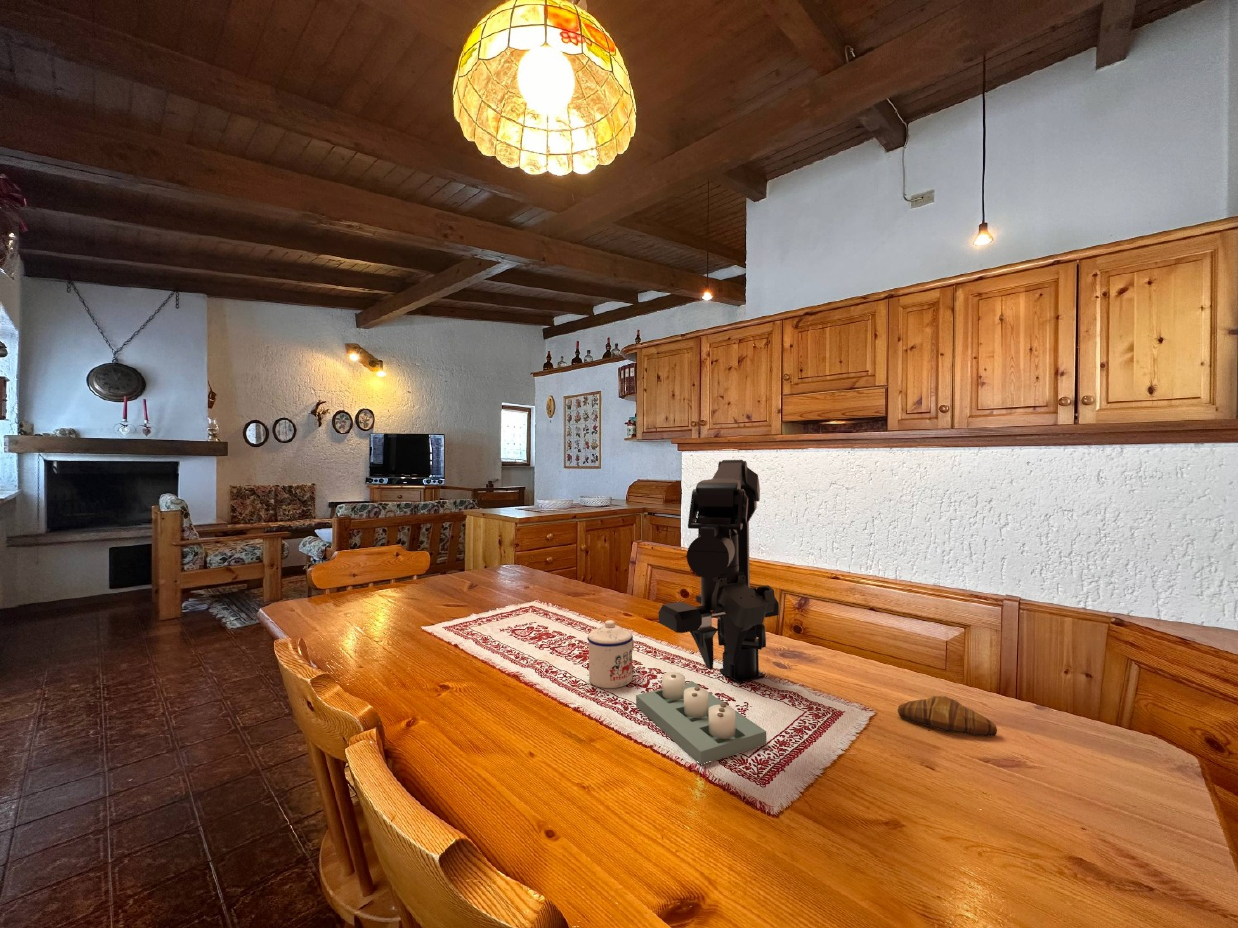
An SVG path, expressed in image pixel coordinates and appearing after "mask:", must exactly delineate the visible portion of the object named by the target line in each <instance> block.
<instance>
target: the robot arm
mask: <svg viewBox="0 0 1238 928" xmlns="http://www.w3.org/2000/svg"><path fill="white" fill-rule="evenodd" d="M717 464H718V465H717V470H716V472H715V473H714V474H713V476H712V478H710V479H703V480H700V481H699V482H698V483H696V486H695V488H693V489H692V491H691V496H690V497H691V498H690V506H689V512H688V513H689V514H688V515H689V516H688V522H687V528H688V529H691V530H692V529H694V530H695V529H696V530H697V532H698V534H697V537H696V538H695V539H694V540H693V541H691V543H690V544H689V545H688V548H687V551H686V561H687V564H688V566H689V568H690V570H691V571H692V572H693V573H694V574H695V576H697V577H700V594H697V595H695V601H696V603H698V604H700V606H693V605H691V604H689V603H686V602H684V601H677V602H671V603H665V604H662V605H661V606H660V608H659V611H658V624H661V626H664V627H666V628H667V629H670V630H671V631H673V632H674V633H677V634H684V633H690V635H691V636H692V639H693V640H694V643H695V645H696V646H697V649H698V651H699V654H700V657H701V658H702V659H703V660H702V661H703V662H704V665H705V666H706V667H705V668H707V669H708V670H709V671H712V670H713V669H714V660H715V659H714V636H715V635H716V633H717V639H718V640H717V641H718V643H717V644H718V646H719V647H722V646H723V652H722V668H719V672H720V673H721V674H722V675H725V676H727V677H728V678H730V679H731V680H733V681H734V682H735V683H739V684H742V683H744V682H749V681H755V680H757V679H760V678H765V673H763V672H761V671H760V670H759V669H760V668H759V667H760V665H759V663H760V662H759V661H760V659H759V650H760V651H762V649H763V648H767V637H766V626H765V625H764V620H765V618H771V617H776V616H779V615H780V603H779V601H778V600H777V598H776V597H775V589H774V588H772V587H771V586H770V585H761V586H758V587H755V586H752V587H751V580H750V579H751V578H750V573H751V571H750V521H751V519H752V517H753V516H754V514H755V513H756V510H757V508H758V507H757V503H758V502H760V501H761V500H760V499H761V489H760V488H761V486H760V485H761V484H760V479H759V474H757V473H756V472H755V471H753V470H752V469H750V468H749V467H748V464H747V460H743V459H723V460H721V461H718V463H717ZM713 618H717V619H716V620H717V621H716V624H717V625H716V626H717V627H715V626H713V623H712V619H713Z"/></svg>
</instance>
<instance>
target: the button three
mask: <svg viewBox="0 0 1238 928" xmlns="http://www.w3.org/2000/svg"><path fill="white" fill-rule="evenodd" d="M724 703H725V702H724ZM724 703H722V704H720V705H713V706H711V707H710V708H709V733H710V734H711V735H712V736H714V737H717V738H721V739H728V738H731V737H733V736H735V734H736V726H735V708H734V707H733V706H729V705H728V704H727V703H725V704H724ZM726 704H727V705H728V706H727V705H726Z"/></svg>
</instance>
